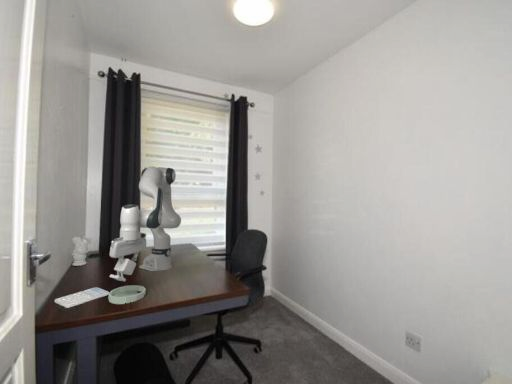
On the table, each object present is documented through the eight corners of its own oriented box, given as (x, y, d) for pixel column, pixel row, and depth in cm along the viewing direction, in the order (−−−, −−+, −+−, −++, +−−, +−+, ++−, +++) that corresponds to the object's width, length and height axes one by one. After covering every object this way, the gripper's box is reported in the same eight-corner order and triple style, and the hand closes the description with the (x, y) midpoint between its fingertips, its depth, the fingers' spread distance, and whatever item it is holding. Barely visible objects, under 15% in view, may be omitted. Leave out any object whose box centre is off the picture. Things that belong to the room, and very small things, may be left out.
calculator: (53, 302, 123) (53, 298, 123) (96, 289, 140) (96, 286, 140) (67, 309, 116) (67, 305, 116) (110, 294, 134) (110, 291, 134)
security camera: (127, 282, 126) (137, 263, 131) (118, 278, 121) (128, 258, 126) (118, 280, 128) (127, 261, 133) (108, 276, 123) (118, 257, 128)
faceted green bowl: (100, 300, 125) (101, 294, 125) (128, 289, 140) (128, 283, 140) (126, 306, 119) (126, 300, 119) (151, 294, 135) (152, 288, 135)
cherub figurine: (68, 264, 183) (69, 234, 184) (85, 260, 195) (86, 232, 195) (79, 267, 179) (80, 236, 179) (96, 262, 190) (97, 233, 190)
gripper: (116, 239, 119) (115, 268, 119) (148, 233, 138) (147, 258, 138) (106, 238, 121) (105, 267, 121) (139, 232, 141) (139, 257, 141)
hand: (128, 262), depth 130 cm, fingers closed on security camera, 6 cm apart
